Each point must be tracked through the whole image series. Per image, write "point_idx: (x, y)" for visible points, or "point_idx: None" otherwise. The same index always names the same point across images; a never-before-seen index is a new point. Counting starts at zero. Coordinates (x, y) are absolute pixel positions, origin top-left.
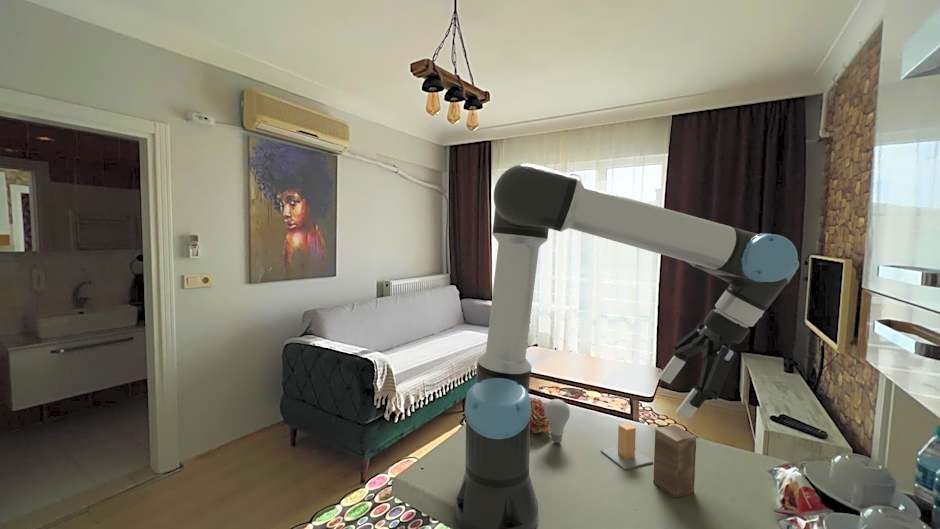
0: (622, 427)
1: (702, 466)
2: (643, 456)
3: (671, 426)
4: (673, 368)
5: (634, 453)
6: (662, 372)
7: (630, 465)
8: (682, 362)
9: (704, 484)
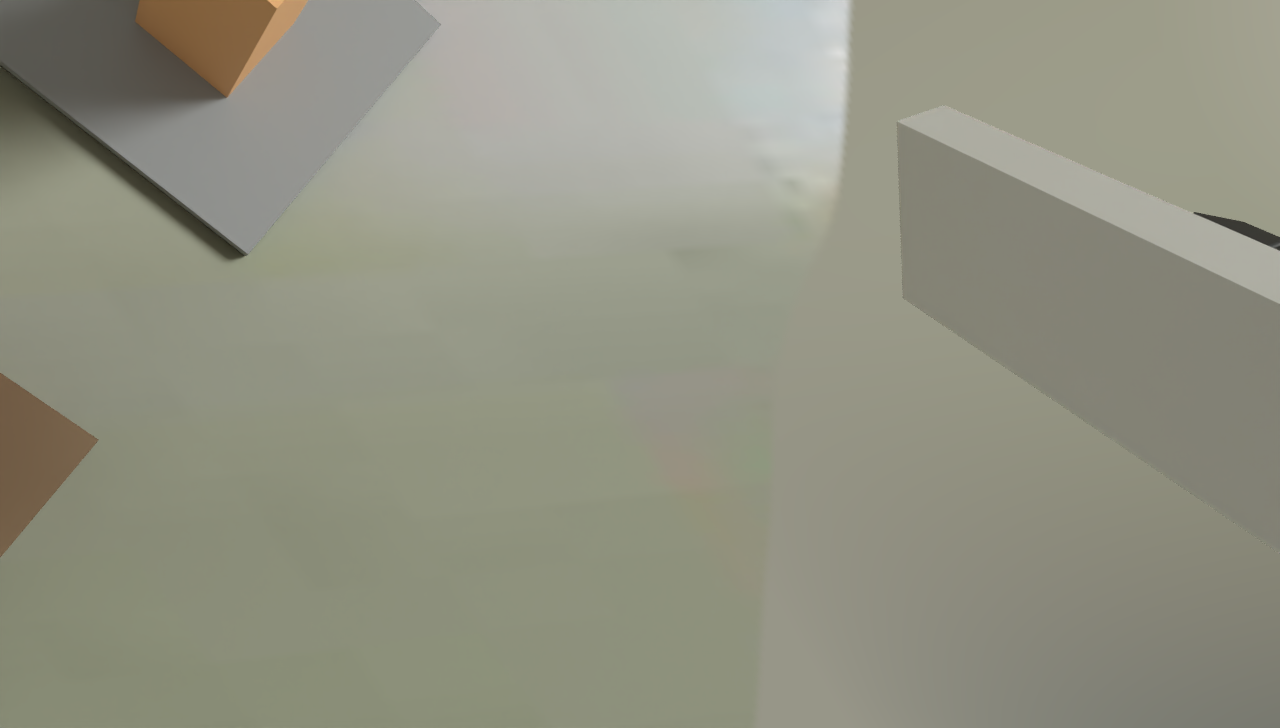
0: None
1: (431, 628)
2: (290, 170)
3: (2, 410)
4: (1101, 326)
5: (228, 84)
6: (1001, 148)
7: (44, 68)
8: (1267, 494)
9: (128, 679)
